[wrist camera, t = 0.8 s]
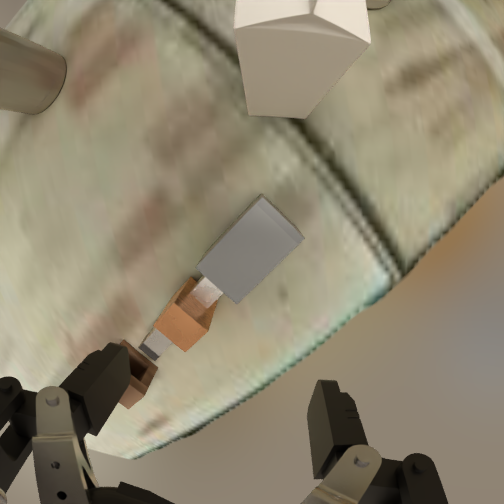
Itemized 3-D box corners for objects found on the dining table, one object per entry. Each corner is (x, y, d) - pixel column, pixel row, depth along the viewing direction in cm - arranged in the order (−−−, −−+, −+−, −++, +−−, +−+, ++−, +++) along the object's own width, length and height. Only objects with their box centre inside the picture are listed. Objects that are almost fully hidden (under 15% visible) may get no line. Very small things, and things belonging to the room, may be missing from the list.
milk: (248, 116, 27) (220, -10, 6) (250, 65, 26) (232, -91, 4) (307, 119, 27) (402, 14, 6) (307, 68, 26) (375, -73, 4)
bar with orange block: (143, 329, 33) (121, 360, 27) (257, 206, 29) (256, 215, 23) (167, 349, 34) (150, 383, 27) (284, 233, 30) (292, 250, 23)
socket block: (109, 356, 35) (91, 380, 29) (123, 339, 34) (105, 364, 29) (142, 382, 36) (128, 409, 30) (158, 367, 35) (144, 395, 30)
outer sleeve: (204, 253, 31) (195, 267, 26) (261, 193, 29) (262, 196, 24) (240, 284, 32) (236, 304, 27) (297, 227, 30) (304, 238, 25)
